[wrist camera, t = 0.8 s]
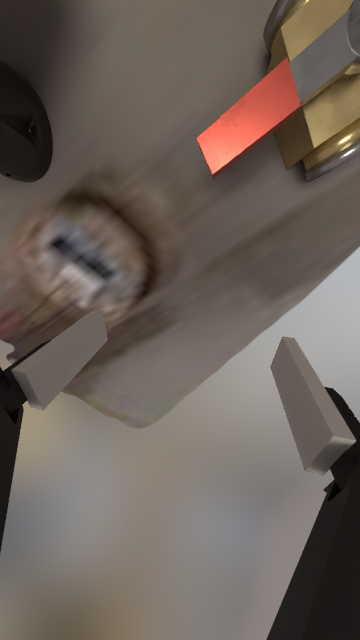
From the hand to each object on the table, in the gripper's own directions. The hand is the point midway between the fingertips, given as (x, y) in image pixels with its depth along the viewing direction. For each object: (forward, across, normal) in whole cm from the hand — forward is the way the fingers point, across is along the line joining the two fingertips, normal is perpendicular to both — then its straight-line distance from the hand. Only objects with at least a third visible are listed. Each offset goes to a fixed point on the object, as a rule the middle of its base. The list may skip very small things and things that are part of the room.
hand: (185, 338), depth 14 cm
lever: (+16, +6, +18) cm, 25 cm away
